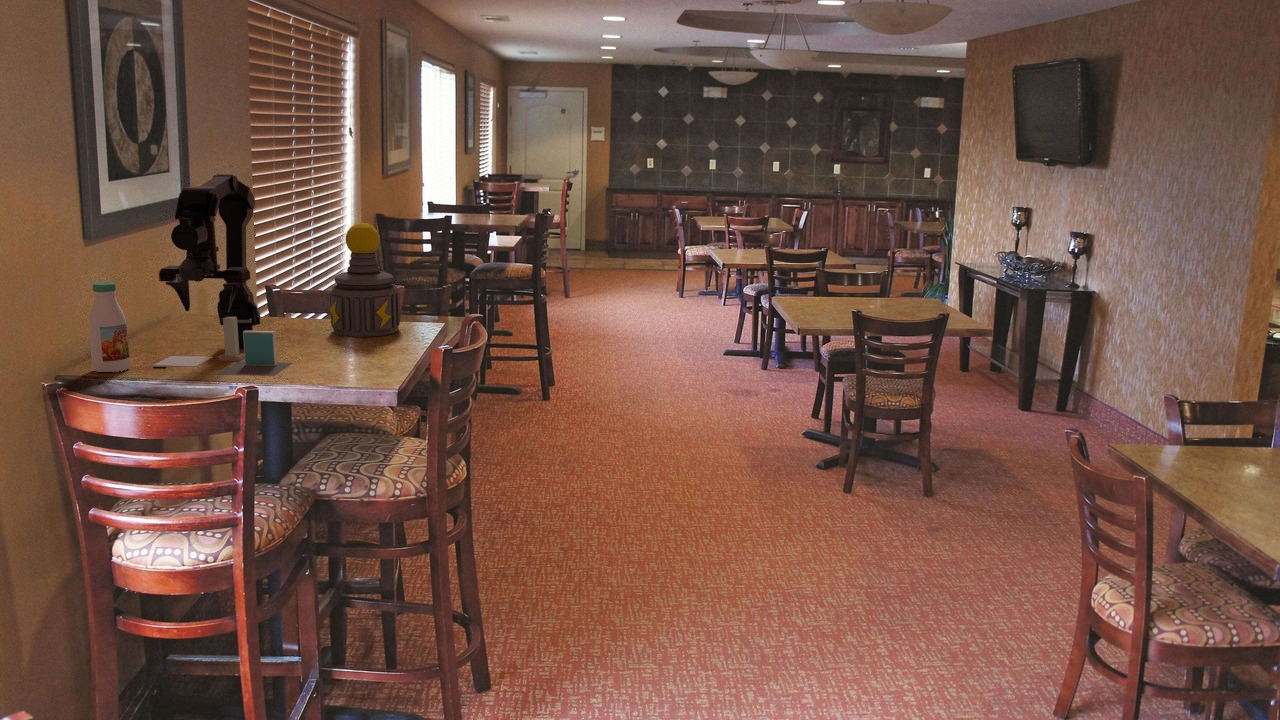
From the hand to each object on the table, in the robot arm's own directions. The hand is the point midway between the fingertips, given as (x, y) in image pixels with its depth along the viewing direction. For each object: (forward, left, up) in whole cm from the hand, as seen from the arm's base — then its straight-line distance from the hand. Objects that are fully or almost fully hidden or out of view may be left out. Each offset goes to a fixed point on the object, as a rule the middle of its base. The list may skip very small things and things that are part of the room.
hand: (207, 311), depth 237 cm
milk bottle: (+4, -21, -14) cm, 25 cm away
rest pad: (-4, -8, -13) cm, 16 cm away
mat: (+1, +11, -13) cm, 17 cm away
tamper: (-8, +2, -13) cm, 16 cm away
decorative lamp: (-47, +24, -14) cm, 54 cm away
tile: (-2, +11, -13) cm, 17 cm away
